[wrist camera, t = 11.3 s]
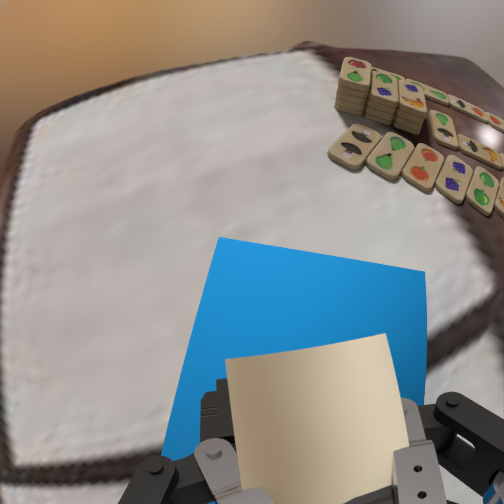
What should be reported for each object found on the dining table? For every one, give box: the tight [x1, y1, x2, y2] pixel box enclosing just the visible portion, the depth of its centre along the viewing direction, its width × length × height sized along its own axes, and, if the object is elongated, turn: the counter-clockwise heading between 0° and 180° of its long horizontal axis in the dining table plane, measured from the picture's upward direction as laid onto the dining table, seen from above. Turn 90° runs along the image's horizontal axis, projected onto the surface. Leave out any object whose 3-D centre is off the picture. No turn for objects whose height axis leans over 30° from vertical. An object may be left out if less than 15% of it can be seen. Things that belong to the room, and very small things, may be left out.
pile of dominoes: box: [327, 57, 504, 218], centre depth 35 cm, size 35×27×6 cm
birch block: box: [225, 333, 409, 504], centre depth 12 cm, size 5×5×10 cm
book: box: [161, 237, 427, 504], centre depth 19 cm, size 17×4×25 cm
